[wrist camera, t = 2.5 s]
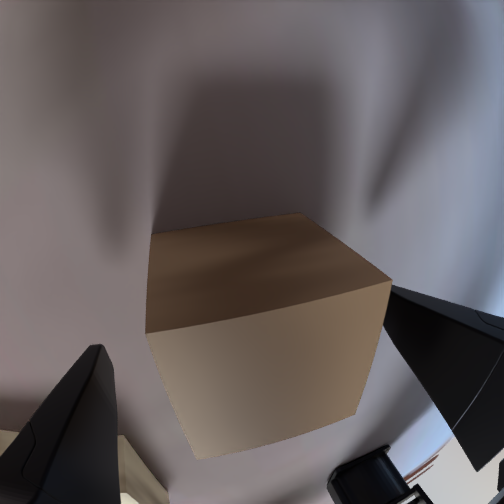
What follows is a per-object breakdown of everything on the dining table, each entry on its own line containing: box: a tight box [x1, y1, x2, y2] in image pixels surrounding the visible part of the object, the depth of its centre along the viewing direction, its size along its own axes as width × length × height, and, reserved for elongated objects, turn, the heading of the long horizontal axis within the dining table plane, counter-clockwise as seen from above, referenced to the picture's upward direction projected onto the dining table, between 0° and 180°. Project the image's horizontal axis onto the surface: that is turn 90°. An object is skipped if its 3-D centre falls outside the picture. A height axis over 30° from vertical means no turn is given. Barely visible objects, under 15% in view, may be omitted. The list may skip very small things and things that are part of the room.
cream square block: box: [0, 430, 170, 504], centre depth 12 cm, size 10×10×4 cm
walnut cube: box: [145, 213, 393, 460], centre depth 9 cm, size 5×5×5 cm
